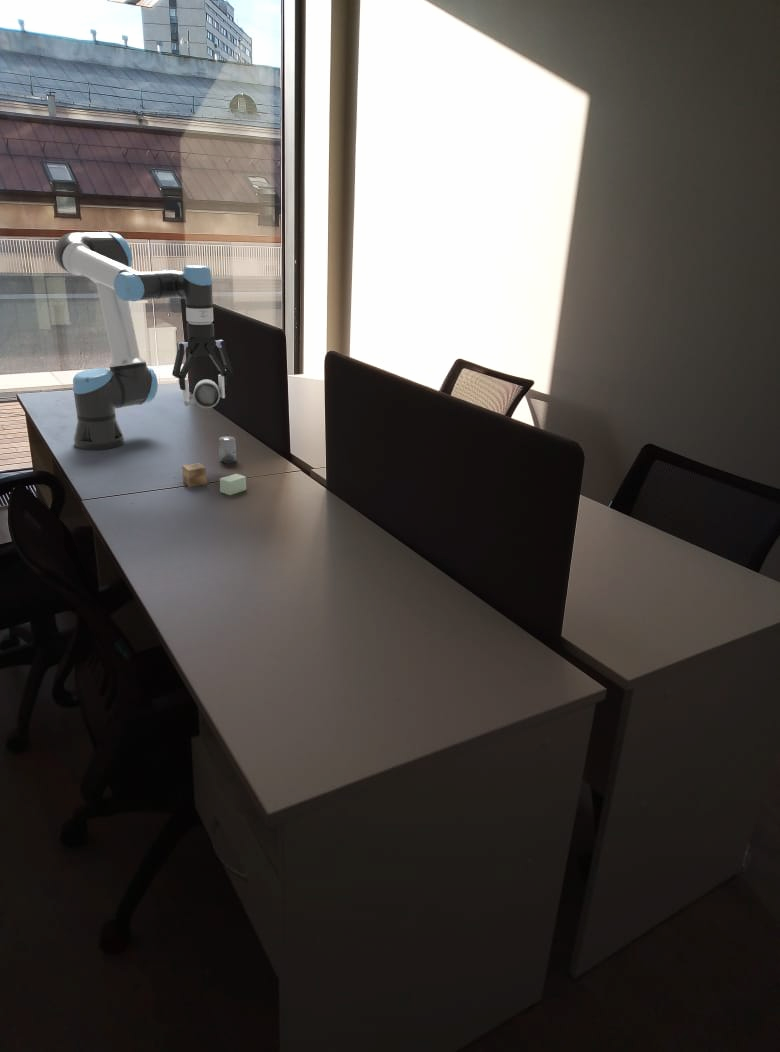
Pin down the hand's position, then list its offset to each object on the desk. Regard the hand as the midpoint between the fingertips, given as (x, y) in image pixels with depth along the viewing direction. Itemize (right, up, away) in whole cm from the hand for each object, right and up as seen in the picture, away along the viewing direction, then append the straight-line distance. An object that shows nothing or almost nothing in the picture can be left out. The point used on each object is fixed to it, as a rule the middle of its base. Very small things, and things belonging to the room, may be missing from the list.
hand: (204, 398), depth 228 cm
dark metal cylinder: (+5, -18, +10) cm, 21 cm away
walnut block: (0, -26, -10) cm, 27 cm away
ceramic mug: (-1, -2, +1) cm, 2 cm away
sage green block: (+12, -28, -15) cm, 34 cm away
